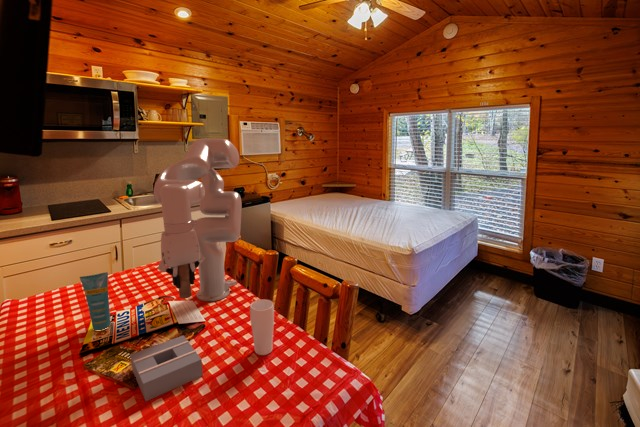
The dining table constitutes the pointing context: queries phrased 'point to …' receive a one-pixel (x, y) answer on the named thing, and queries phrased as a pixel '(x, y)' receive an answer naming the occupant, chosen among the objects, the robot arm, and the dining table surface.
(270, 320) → the drinking glass
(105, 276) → the tube
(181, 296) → the walnut peg
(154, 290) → the dining table surface
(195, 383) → the dining table surface
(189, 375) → the socket block
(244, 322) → the dining table surface
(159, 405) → the dining table surface
